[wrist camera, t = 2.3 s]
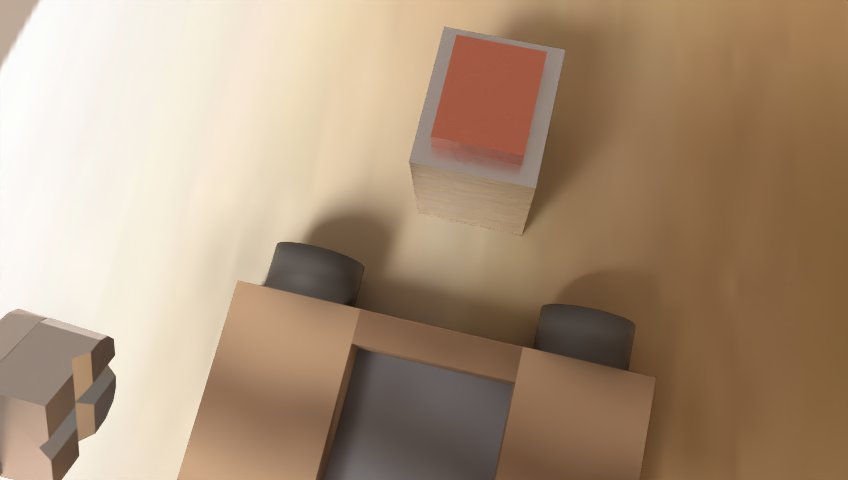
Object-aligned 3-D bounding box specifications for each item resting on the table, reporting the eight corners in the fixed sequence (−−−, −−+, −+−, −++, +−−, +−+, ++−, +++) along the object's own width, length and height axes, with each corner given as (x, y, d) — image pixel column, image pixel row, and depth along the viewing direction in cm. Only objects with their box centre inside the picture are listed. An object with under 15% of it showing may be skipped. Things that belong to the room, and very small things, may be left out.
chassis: (586, 700, 31) (603, 737, 27) (169, 583, 33) (130, 603, 29) (646, 339, 34) (670, 326, 30) (268, 253, 36) (244, 230, 32)
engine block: (521, 235, 36) (538, 179, 28) (418, 213, 36) (407, 152, 29) (546, 120, 37) (568, 37, 29) (447, 100, 38) (443, 13, 30)
